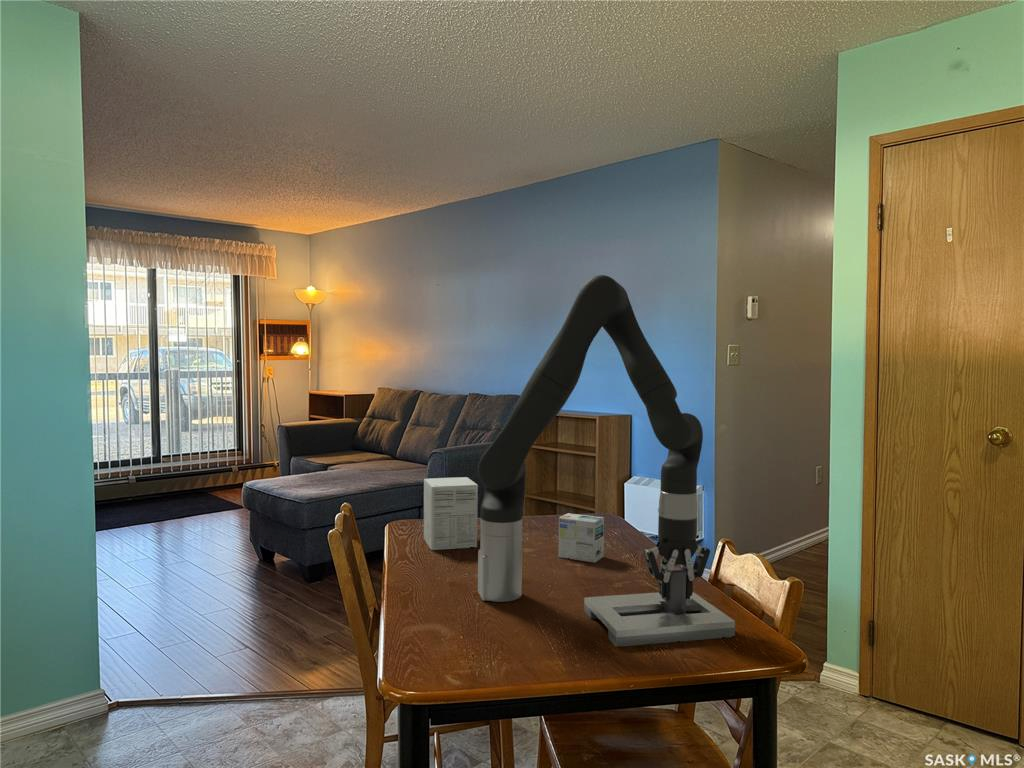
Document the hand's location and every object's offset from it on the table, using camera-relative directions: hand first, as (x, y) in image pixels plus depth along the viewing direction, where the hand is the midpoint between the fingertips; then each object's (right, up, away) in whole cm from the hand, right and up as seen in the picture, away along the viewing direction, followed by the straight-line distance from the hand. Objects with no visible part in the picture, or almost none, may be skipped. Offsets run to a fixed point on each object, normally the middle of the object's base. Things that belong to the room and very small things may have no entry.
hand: (675, 598), depth 141 cm
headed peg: (0, -5, 0) cm, 5 cm away
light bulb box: (-15, -3, +45) cm, 47 cm away
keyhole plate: (-4, -5, -1) cm, 6 cm away
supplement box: (-50, -2, +57) cm, 76 cm away
